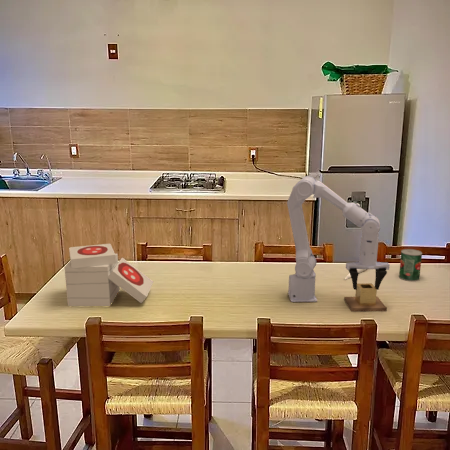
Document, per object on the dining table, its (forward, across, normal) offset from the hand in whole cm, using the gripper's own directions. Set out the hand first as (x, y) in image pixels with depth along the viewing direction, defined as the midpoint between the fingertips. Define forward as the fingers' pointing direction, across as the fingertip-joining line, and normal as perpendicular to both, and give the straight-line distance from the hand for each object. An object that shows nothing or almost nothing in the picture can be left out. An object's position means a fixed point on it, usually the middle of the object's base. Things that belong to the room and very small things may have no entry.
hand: (365, 288), depth 169 cm
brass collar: (+5, 0, 0) cm, 5 cm away
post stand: (+6, 0, 0) cm, 6 cm away
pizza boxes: (+7, -91, +8) cm, 92 cm away
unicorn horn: (+7, +8, +34) cm, 36 cm away
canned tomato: (+6, +26, +27) cm, 38 cm away
